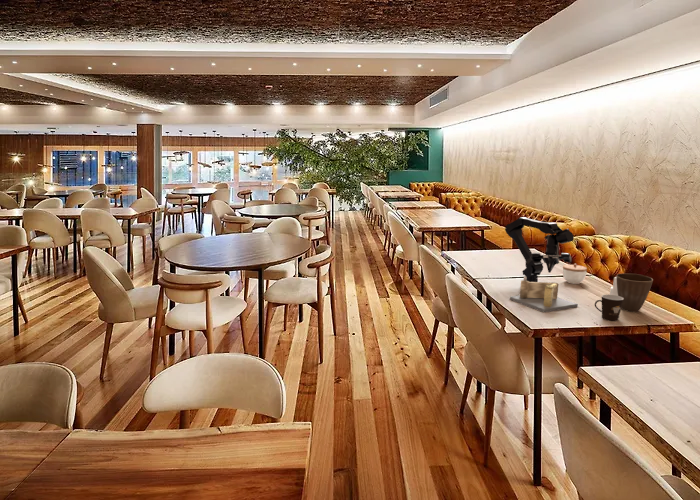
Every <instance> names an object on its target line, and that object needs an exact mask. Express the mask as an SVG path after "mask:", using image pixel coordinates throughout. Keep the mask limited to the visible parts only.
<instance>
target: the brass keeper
mask: <svg viewBox="0 0 700 500" xmlns="http://www.w3.org/2000/svg"><path fill="white" fill-rule="evenodd" d="M549 283H550V284H548V285H547V286H545V295H544V305H543V306H547V307H551V306H552V300H553V290H554V288H555V287H556V286H557V284H553V283H554V282H549Z"/></svg>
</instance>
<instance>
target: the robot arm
mask: <svg viewBox="0 0 700 500" xmlns="http://www.w3.org/2000/svg"><path fill="white" fill-rule="evenodd" d="M525 226H526V227H530V228H534V229H537V230H539V231H540V232H541V233H543V234H545V235H546V234H547V235H546V236H544V239H545V240H546V245H545V246H546V248H545V249H546V250H545V254H543V255H542V254H541V253H540V252H532V251H531V249H530V247H529V246H528V244H527V242H526V240H525V239H524V236H523V230H522V229H523V228H525ZM504 231H505V233H506V235H507V236H508V237H509V238H511V239H513V241H514V243H515V244H516V246H517V248H518V250H519V251H520V253H521V255H522V257H523V259H524V261H525V268H524V269H523V270H522V271H521V272H522V275H523V276H526V277H527V280H526V281H529V282H539V277H538V276H540V275H541V273H542V272H543V270H544V264H546V268H547V271H548V273H551V272H552V271H553V269H554V267H555V265H558V264H560V260H563V262H564V263H572V256H571V254H570V253H568V252H561V254H560V253H559V245H563V244H567V243H570V242H573V241H574V240H575V239H574V234H573V233H572V231H570V229H569V228H565V229H562V228H560V226H559V225H558V223H557V222H554V221H553V222H552V221H551V222H550V221H549V222H547V221H540V220H537V219H533V218H532V219H531V218H528V217H526V216H522V217H518V218H517V219H516V220H514V221H512V222H510V223H508V224H506V225H505V229H504ZM542 261H543V262H542Z"/></svg>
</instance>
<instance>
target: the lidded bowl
mask: <svg viewBox="0 0 700 500" xmlns="http://www.w3.org/2000/svg"><path fill="white" fill-rule="evenodd" d="M587 270H588V268H587V267H586V266H583V265H578V264H577V263H574V264H564V265H562V277H563V278H564V280H565V281H566V283H568V284H572V285H580V284H581V283H582V282H583V281H584V280H585V278H586V276H587Z"/></svg>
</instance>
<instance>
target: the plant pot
mask: <svg viewBox="0 0 700 500" xmlns="http://www.w3.org/2000/svg"><path fill="white" fill-rule="evenodd" d="M616 277H617V291H618V296H620V297H622V298H624V299H623V303H622V307H621V310H622V311H626V312H631V313H638V312H640V311H641V308H642V307H643V305H644V304H645V302H646V300H647V298H648V296H649V293H650V291H651V287H652V285H653V282H654V279H653V278H652V277H650V276H647V275H643V274H637V273H617V274H616Z"/></svg>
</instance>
